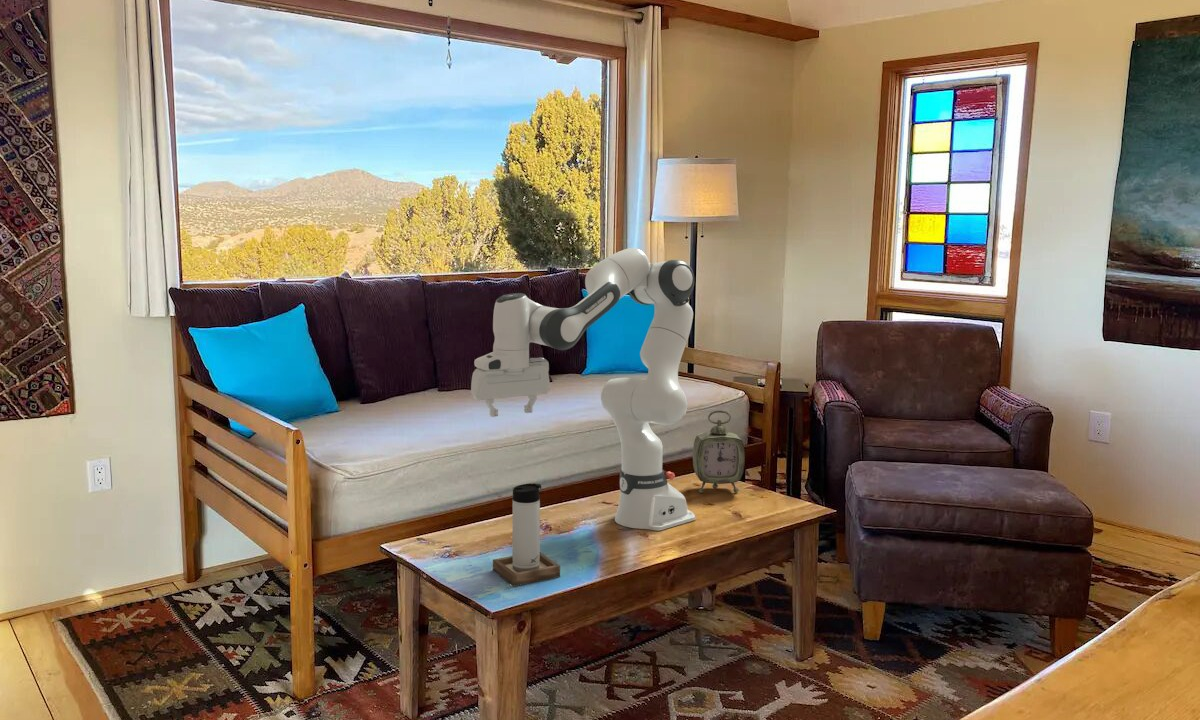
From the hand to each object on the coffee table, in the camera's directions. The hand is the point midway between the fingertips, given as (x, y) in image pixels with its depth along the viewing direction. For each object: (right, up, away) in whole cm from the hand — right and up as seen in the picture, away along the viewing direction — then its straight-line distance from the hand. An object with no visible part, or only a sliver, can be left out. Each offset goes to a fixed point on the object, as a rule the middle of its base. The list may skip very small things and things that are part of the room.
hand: (511, 414), depth 232 cm
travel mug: (+5, -35, -16) cm, 39 cm away
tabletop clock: (+58, -26, +52) cm, 82 cm away
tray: (+5, -36, -16) cm, 40 cm away
